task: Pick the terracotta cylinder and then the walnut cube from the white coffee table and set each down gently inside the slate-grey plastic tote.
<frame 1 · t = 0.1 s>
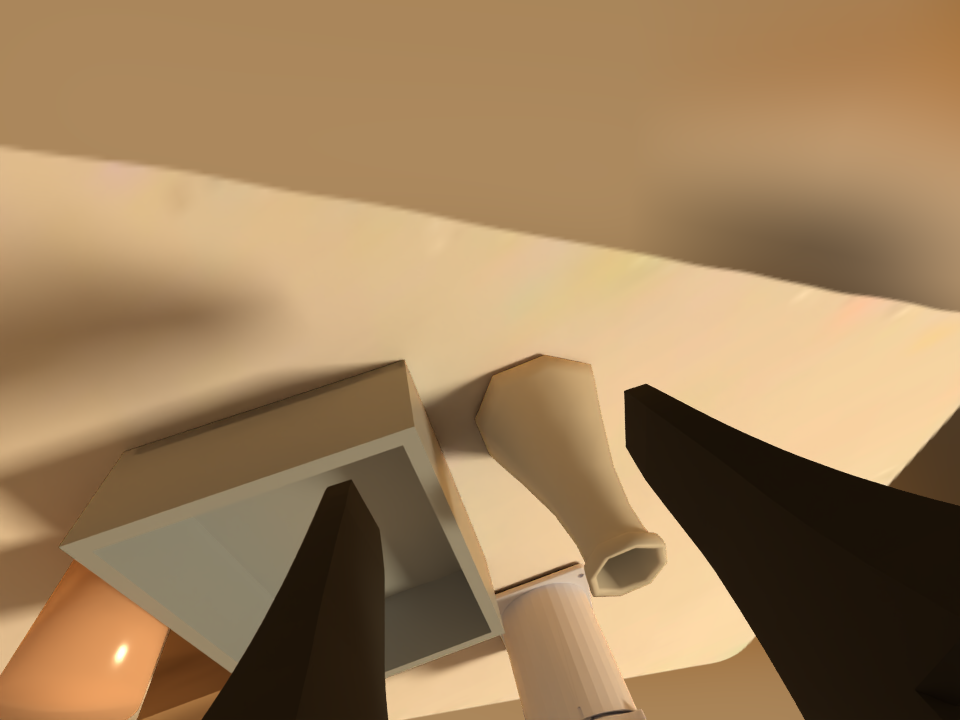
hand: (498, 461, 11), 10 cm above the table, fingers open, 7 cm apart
flask: (535, 406, 24), on the table
terracotta cylinder: (142, 551, 23), on the table
walnut cube: (234, 627, 28), on the table
slate tote: (342, 516, 25), on the table
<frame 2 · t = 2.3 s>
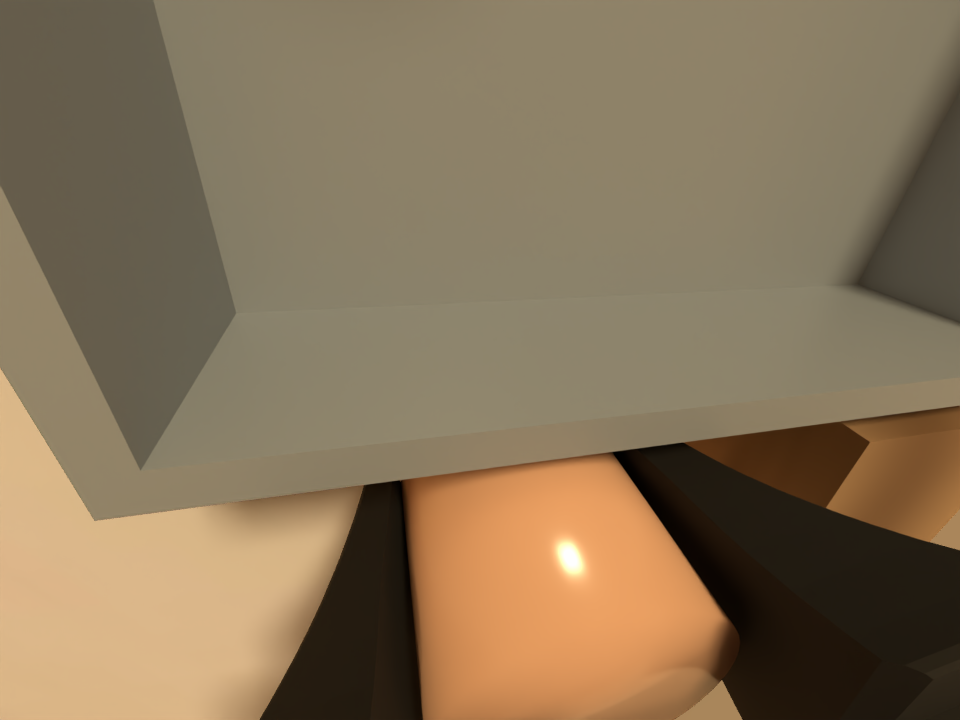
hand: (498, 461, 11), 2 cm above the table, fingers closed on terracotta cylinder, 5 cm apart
terracotta cylinder: (483, 421, 12), on the table, touching gripper
walnut cube: (743, 391, 14), on the table
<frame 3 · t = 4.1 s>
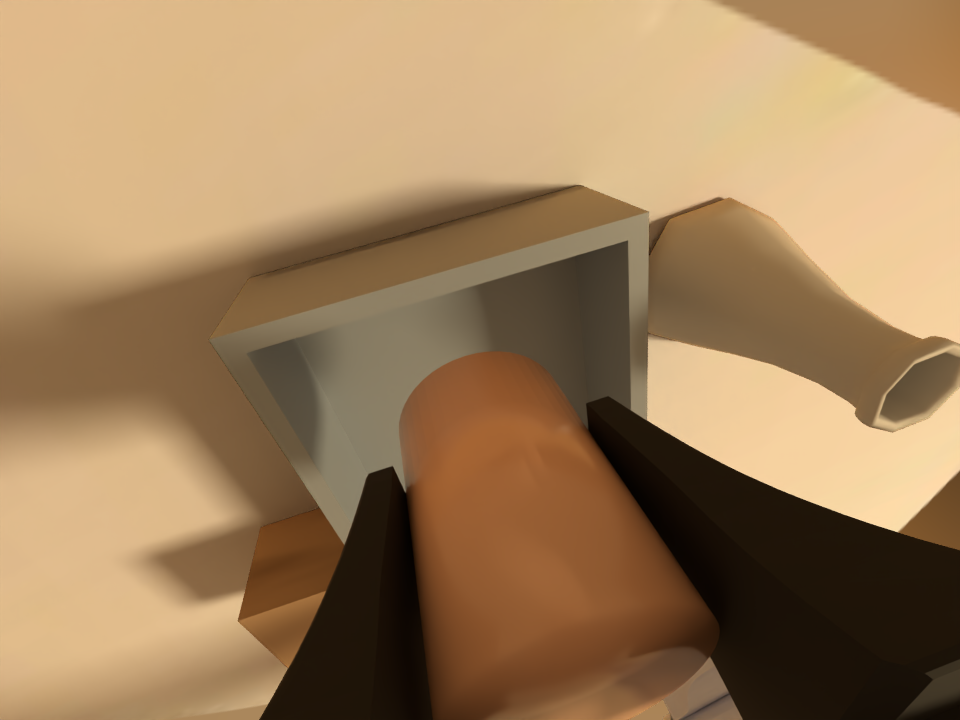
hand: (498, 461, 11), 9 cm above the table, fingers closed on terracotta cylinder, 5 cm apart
flask: (697, 273, 21), on the table
terracotta cylinder: (482, 422, 13), point 7 cm above the table, touching gripper
walnut cube: (325, 538, 24), on the table
slate tote: (468, 399, 21), on the table
when the fingers open (3 cm above the table, at t = 6.0 s): terracotta cylinder stays where it is, resting on slate tote.
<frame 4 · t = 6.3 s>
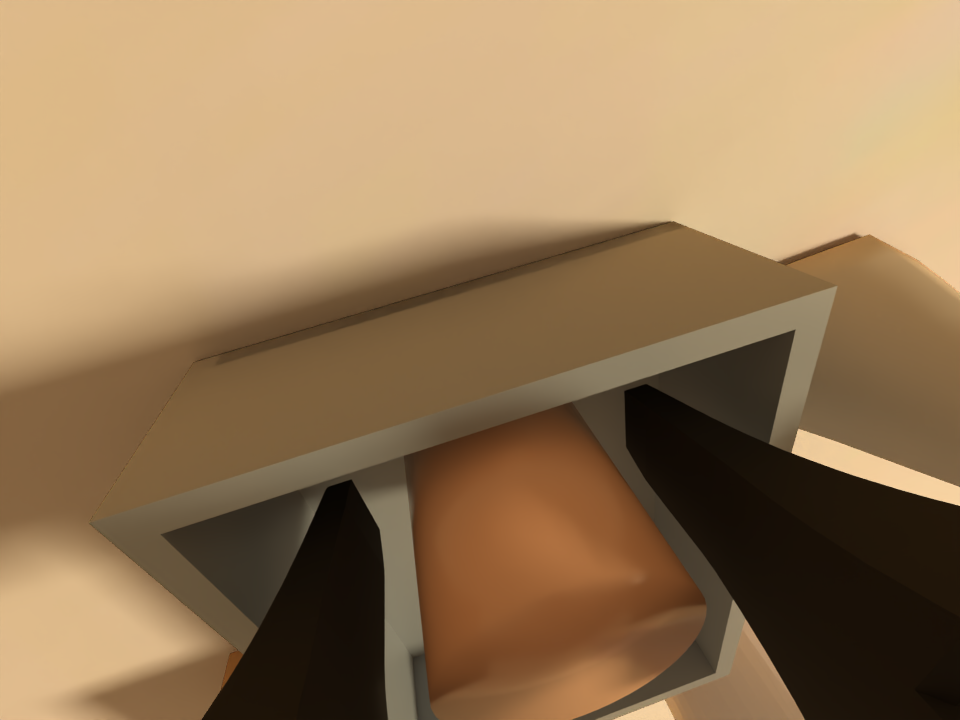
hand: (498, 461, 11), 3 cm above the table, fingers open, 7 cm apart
flask: (806, 329, 16), on the table
terracotta cylinder: (482, 414, 13), point 1 cm above the table, touching slate tote
slate tote: (502, 495, 16), on the table
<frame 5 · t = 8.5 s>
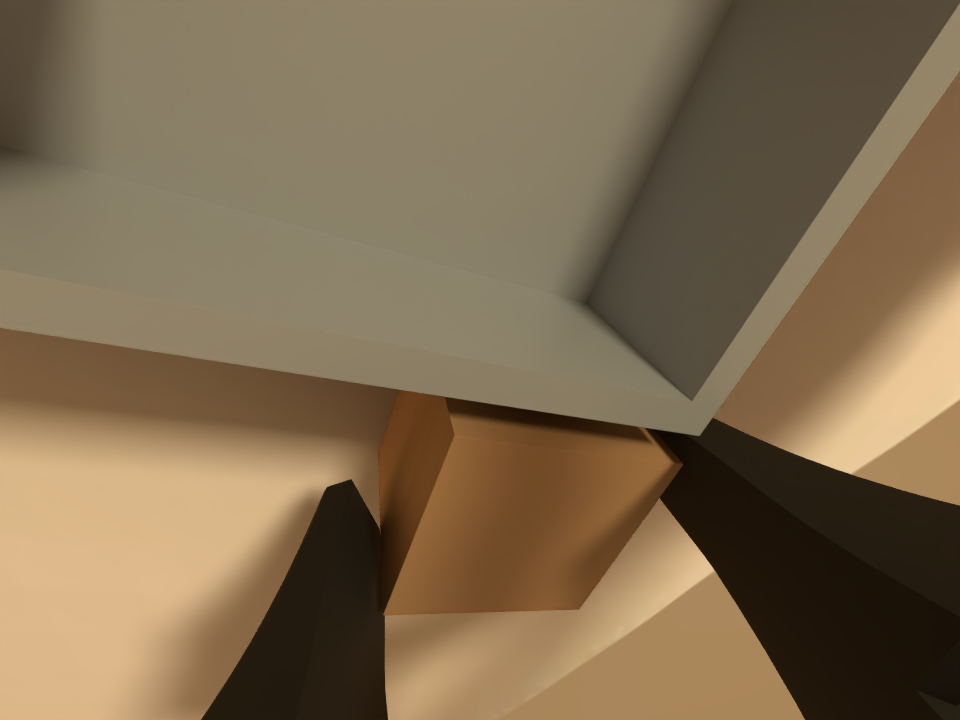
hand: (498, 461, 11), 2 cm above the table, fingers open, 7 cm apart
walnut cube: (478, 400, 13), on the table
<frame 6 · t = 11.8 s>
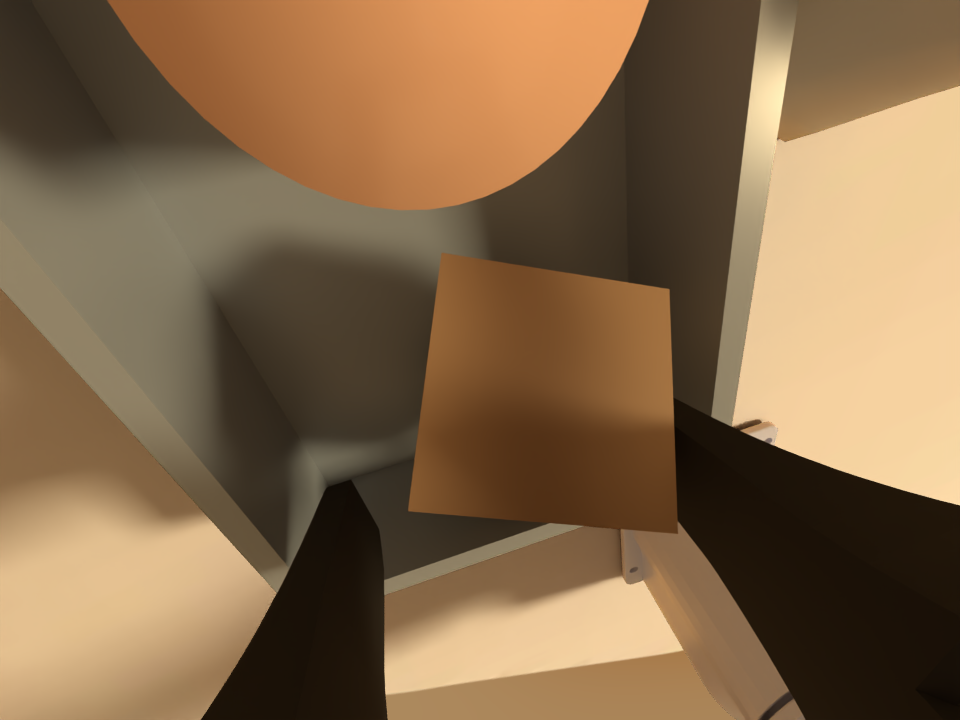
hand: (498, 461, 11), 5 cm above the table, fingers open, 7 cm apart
terracotta cylinder: (369, 22, 9), point 1 cm above the table, touching slate tote
walnut cube: (502, 419, 13), point 3 cm above the table, tilted 46°, touching gripper, slate tote
slate tote: (423, 224, 12), on the table
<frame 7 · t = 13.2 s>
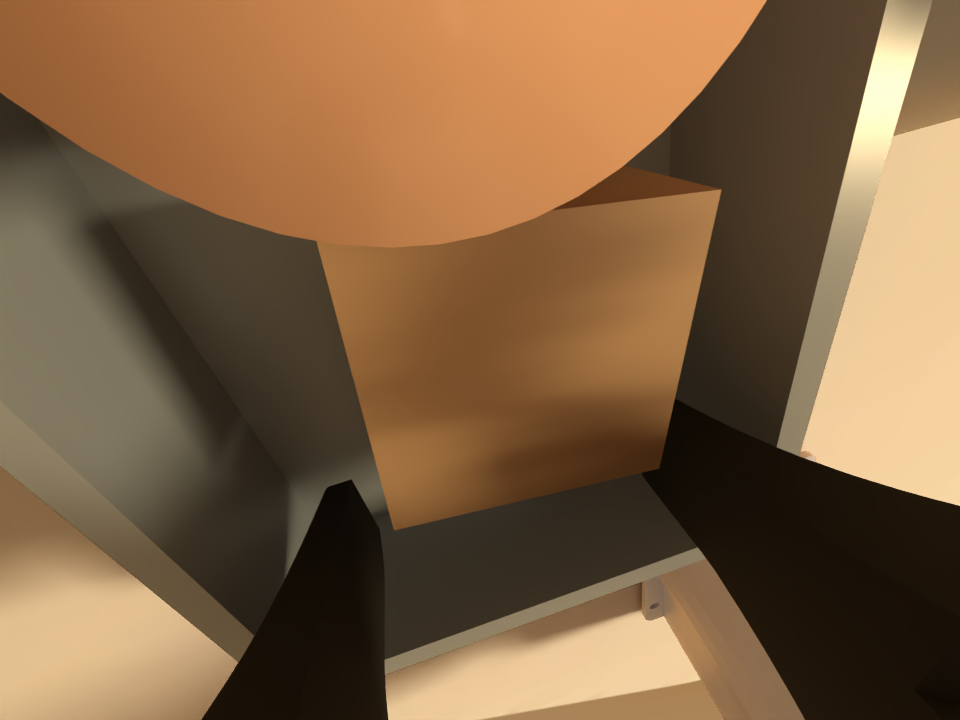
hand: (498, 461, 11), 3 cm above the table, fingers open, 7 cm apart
terracotta cylinder: (369, 2, 8), point 1 cm above the table, touching slate tote
walnut cube: (497, 413, 10), point 3 cm above the table, tilted 90°, touching slate tote
slate tote: (432, 244, 11), on the table
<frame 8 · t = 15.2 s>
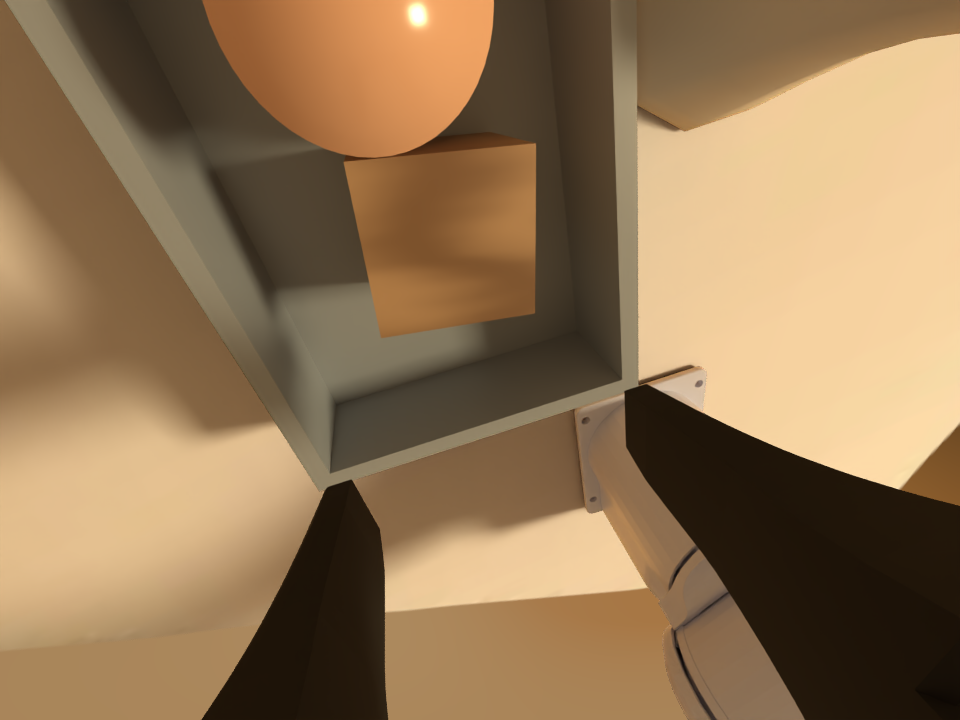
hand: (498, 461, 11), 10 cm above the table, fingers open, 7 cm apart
flask: (705, 21, 16), on the table
terracotta cylinder: (367, 45, 13), point 1 cm above the table, touching slate tote
walnut cube: (447, 295, 16), point 3 cm above the table, tilted 90°, touching slate tote
slate tote: (408, 192, 17), on the table
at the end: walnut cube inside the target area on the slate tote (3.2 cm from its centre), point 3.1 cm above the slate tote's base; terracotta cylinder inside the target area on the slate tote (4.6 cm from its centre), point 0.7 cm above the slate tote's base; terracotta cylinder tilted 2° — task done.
